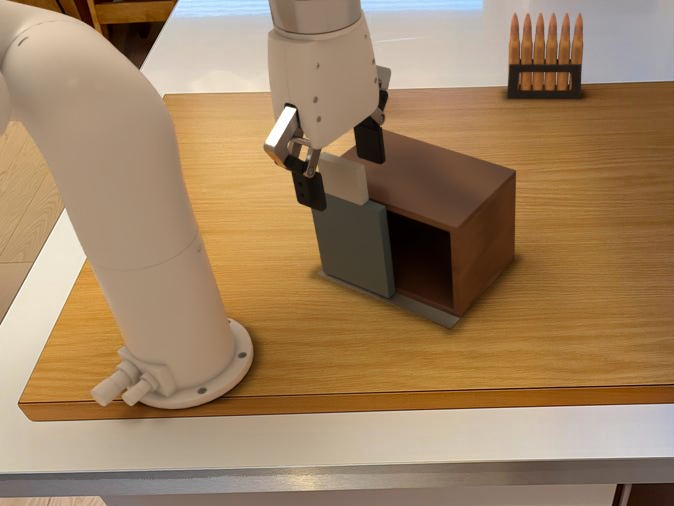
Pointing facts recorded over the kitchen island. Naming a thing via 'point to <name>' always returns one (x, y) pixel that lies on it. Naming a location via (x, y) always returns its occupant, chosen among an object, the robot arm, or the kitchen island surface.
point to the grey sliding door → (352, 228)
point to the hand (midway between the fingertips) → (343, 182)
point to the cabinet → (440, 225)
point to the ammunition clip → (545, 60)
